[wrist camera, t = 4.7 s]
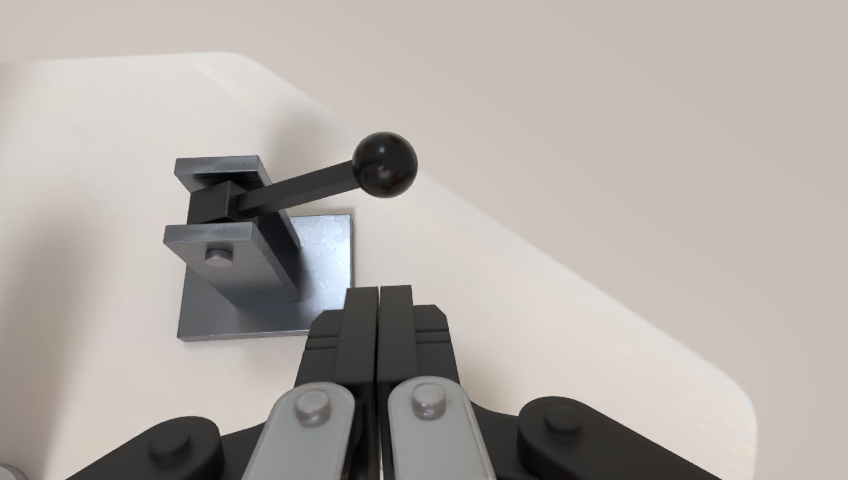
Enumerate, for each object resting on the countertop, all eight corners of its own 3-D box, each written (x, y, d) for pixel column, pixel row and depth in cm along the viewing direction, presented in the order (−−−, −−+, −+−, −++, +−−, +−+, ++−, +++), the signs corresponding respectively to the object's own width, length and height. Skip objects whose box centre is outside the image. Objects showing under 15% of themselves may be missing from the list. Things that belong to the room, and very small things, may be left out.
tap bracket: (352, 220, 40) (329, 122, 28) (353, 332, 36) (327, 272, 25) (198, 227, 39) (110, 129, 28) (184, 342, 36) (75, 284, 24)
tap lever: (425, 145, 26) (398, 110, 23) (430, 200, 25) (401, 170, 22) (228, 204, 30) (185, 180, 28) (222, 253, 29) (177, 234, 26)
